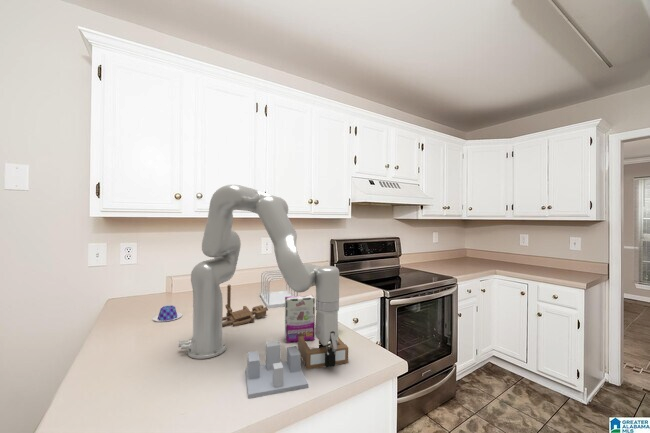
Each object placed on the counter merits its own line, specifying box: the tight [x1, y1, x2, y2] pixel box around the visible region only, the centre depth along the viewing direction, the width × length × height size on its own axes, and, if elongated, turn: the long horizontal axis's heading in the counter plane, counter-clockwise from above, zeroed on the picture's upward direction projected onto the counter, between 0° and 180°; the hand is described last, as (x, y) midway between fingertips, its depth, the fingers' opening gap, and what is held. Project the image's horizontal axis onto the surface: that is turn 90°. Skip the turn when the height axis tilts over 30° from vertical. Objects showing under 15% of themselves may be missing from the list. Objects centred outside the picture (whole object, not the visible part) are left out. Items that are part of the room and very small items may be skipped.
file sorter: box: [259, 269, 299, 309], centre depth 162 cm, size 25×17×16 cm
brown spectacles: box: [297, 336, 349, 370], centre depth 96 cm, size 14×13×5 cm
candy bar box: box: [284, 294, 316, 344], centre depth 110 cm, size 11×5×16 cm, turn 105°
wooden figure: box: [222, 284, 269, 327], centre depth 126 cm, size 14×18×25 cm
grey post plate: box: [245, 340, 309, 399], centre depth 82 cm, size 16×14×8 cm
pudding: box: [152, 305, 183, 322], centre depth 132 cm, size 12×12×5 cm
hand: (326, 360), depth 91 cm, fingers open, 5 cm apart
